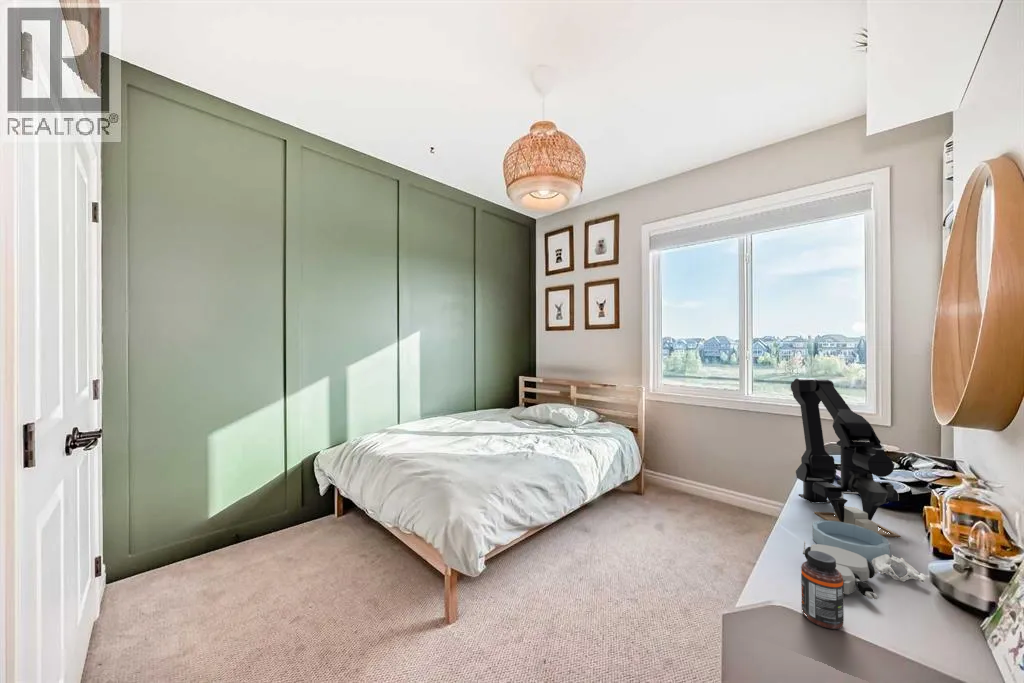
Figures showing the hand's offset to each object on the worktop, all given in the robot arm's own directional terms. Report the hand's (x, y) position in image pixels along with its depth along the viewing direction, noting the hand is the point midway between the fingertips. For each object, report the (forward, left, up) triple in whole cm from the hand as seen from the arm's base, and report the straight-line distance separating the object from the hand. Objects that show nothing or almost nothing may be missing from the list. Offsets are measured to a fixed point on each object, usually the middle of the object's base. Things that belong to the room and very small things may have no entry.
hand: (854, 522), depth 109 cm
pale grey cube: (+5, -1, -1) cm, 5 cm away
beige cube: (0, 0, -1) cm, 1 cm away
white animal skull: (+25, -10, -1) cm, 27 cm away
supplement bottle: (+41, -36, -1) cm, 55 cm away
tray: (0, 0, -1) cm, 1 cm away
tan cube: (-4, 0, -1) cm, 5 cm away
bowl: (+13, -11, -1) cm, 17 cm away
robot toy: (+28, -24, -2) cm, 37 cm away
